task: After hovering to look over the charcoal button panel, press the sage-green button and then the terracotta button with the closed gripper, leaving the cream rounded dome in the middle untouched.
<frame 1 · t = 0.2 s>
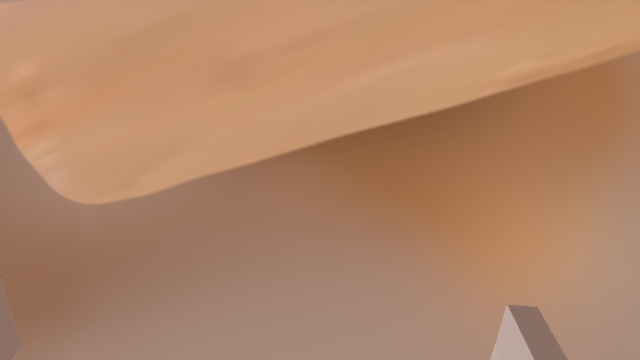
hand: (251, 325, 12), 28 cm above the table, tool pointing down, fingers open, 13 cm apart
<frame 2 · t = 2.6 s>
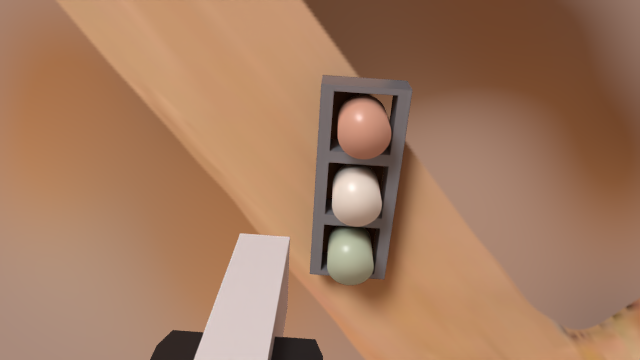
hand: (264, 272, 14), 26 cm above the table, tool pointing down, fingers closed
button panel: (354, 176, 42), on the table
sage button: (349, 253, 41), point 4 cm above the table, slide at 0.0 cm
cream rounded dome: (356, 193, 39), point 4 cm above the table, slide at 0.0 cm
terracotta button: (363, 126, 36), point 4 cm above the table, slide at 0.0 cm
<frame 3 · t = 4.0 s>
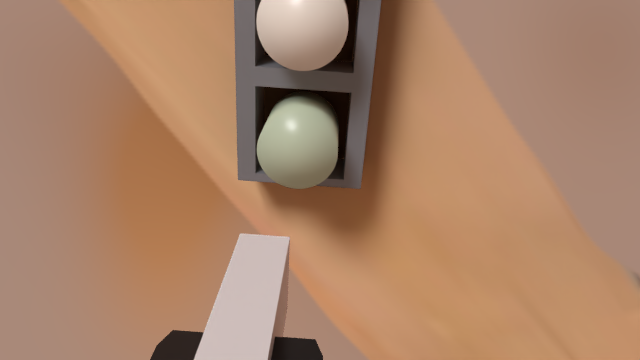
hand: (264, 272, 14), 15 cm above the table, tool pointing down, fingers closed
button panel: (310, 11, 25), on the table
sage button: (300, 138, 24), point 4 cm above the table, slide at 0.0 cm
cream rounded dome: (305, 19, 22), point 3 cm above the table, slide at 0.0 cm
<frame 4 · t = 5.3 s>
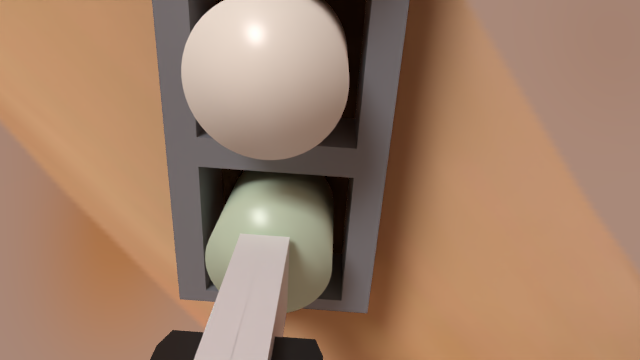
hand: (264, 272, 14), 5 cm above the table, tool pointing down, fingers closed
button panel: (288, 44, 16), on the table
sage button: (276, 230, 16), point 3 cm above the table, slide at 1.0 cm, touching gripper
cream rounded dome: (275, 65, 13), point 3 cm above the table, slide at 0.0 cm
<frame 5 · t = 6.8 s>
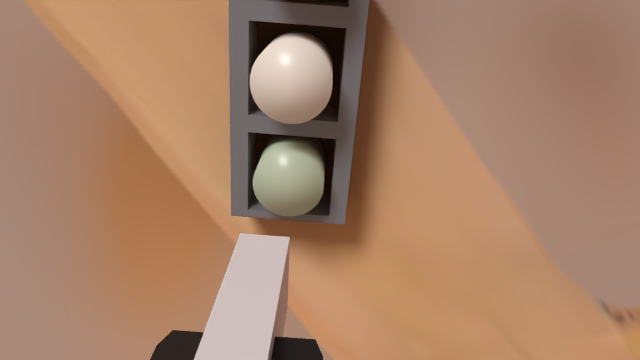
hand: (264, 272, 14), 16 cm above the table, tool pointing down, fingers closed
button panel: (299, 62, 27), on the table
sage button: (291, 171, 28), point 2 cm above the table, slide at 1.2 cm
cream rounded dome: (294, 75, 24), point 3 cm above the table, slide at 0.0 cm
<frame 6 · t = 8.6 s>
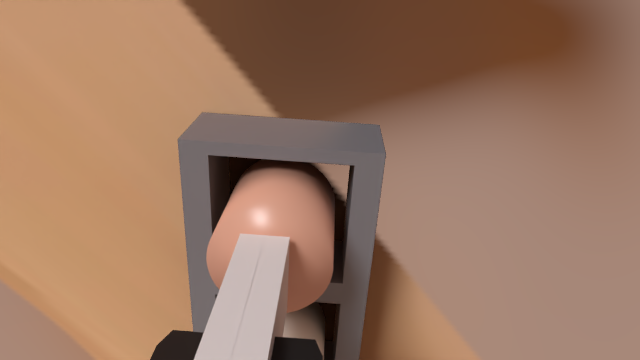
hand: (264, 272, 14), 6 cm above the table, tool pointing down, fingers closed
button panel: (284, 298, 22), on the table
cream rounded dome: (275, 355, 19), point 4 cm above the table, slide at 0.0 cm
terracotta button: (277, 230, 16), point 3 cm above the table, slide at 0.0 cm, touching gripper
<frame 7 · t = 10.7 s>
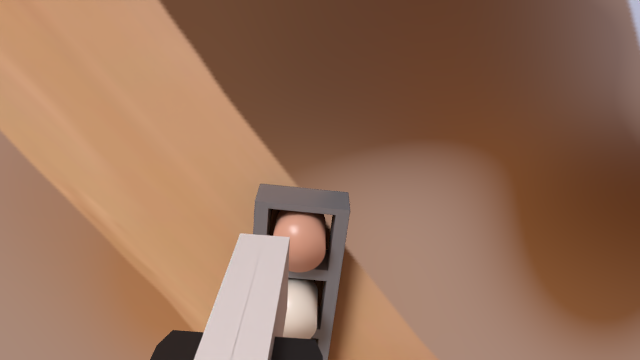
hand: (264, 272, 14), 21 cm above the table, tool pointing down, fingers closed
button panel: (295, 280, 40), on the table
cream rounded dome: (292, 307, 37), point 3 cm above the table, slide at 0.0 cm
terracotta button: (299, 235, 35), point 2 cm above the table, slide at 1.2 cm
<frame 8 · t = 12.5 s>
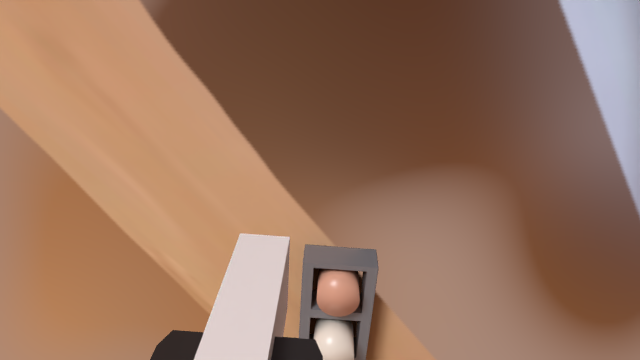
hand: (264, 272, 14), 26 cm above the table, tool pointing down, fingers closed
button panel: (333, 317, 49), on the table
cream rounded dome: (333, 342, 46), point 3 cm above the table, slide at 0.0 cm
terracotta button: (338, 286, 44), point 2 cm above the table, slide at 1.2 cm
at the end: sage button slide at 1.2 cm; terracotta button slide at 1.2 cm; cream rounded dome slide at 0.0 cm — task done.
